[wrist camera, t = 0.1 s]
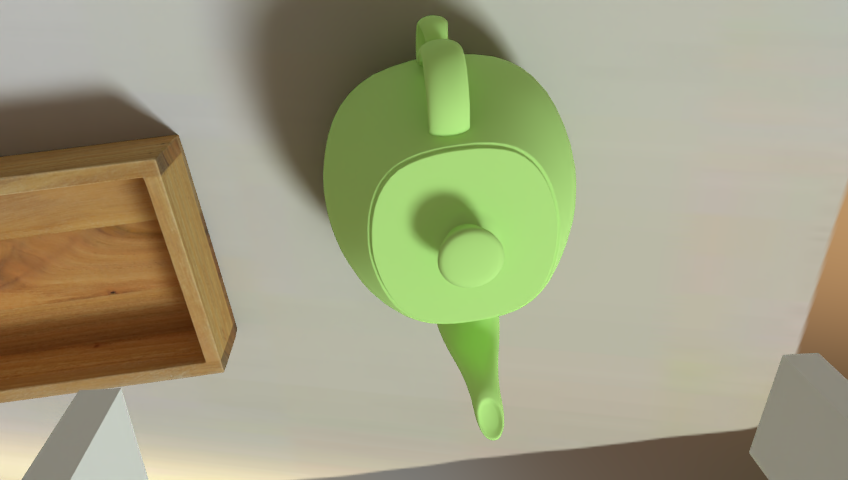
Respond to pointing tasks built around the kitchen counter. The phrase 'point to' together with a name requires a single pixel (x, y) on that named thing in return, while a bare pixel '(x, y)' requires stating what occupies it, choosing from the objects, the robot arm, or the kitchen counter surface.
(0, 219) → the tray
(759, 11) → the kitchen counter surface
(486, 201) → the teapot
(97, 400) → the robot arm
